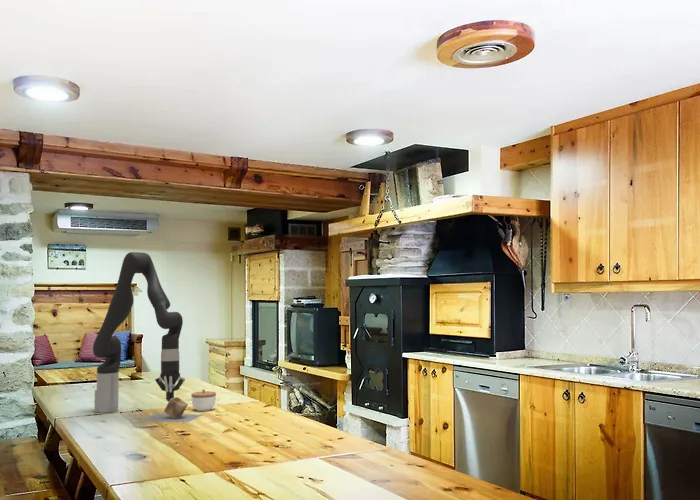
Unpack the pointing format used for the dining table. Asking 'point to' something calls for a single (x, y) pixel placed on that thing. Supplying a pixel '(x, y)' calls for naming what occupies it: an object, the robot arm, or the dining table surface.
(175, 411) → the walnut cube
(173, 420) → the mat
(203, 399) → the lidded jar
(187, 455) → the dining table surface
